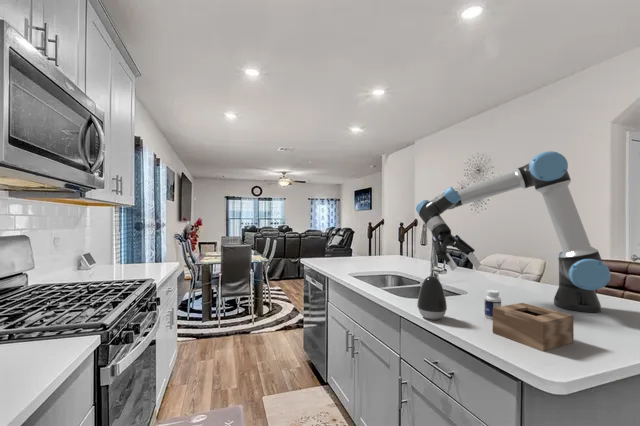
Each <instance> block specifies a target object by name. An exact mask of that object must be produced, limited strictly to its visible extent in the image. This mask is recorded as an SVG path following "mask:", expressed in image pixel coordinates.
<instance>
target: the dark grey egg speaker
mask: <svg viewBox="0 0 640 426" xmlns="http://www.w3.org/2000/svg"><path fill="white" fill-rule="evenodd" d="M416 304H417V305H416V306H417V309H418V312H419V314H420V315H421V316H422V317H423V318H425V319H427V320H430V321H431V320H433V321H437V320H441V319H442V318H444V316H445V314H446V311H447V309H448V307H447V306H448V305H447V297H446V295H445V290H444V287H443V286H442V282H441V281H440V280H439V278H438V277H435V276H433V275H430V276H429V275H428V276H427V277H426V278H425V279H424V280H423V282H422V283H421V286H420V290H419V292H418V297H417V303H416Z"/></svg>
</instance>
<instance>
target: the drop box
mask: <svg viewBox="0 0 640 426" xmlns="http://www.w3.org/2000/svg"><path fill="white" fill-rule="evenodd" d="M492 334H495V335H497V336H500V337H503V338H505V339H508V340H511V341H513V342H517V343H519V344H522V345H525V346H526V347H527V346H528V347H530V348H533V349H536V350H538V351H541V352H546V351H549V350H552V349H556V348H559V347H564V346H567V345H570V344H573V343H574V338H575V337H574V335H575V334H574V315H573V314H569V313H565V312H562V311H556V310H554V309H553V310H552V309H549V308H545V307H540V306H537V305H532V304H529V303H525V302H519V303H513V304H508V305H507V304H506V305H501V306H500V307H494V308H493V319H492Z"/></svg>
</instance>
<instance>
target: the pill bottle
mask: <svg viewBox="0 0 640 426" xmlns="http://www.w3.org/2000/svg"><path fill="white" fill-rule="evenodd" d="M500 306H502V298H501V297H500V291H499V290H496V289H488V290H486V296H484V316H485V318H487V319H490V320H493V308H494V307H500Z"/></svg>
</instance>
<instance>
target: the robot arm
mask: <svg viewBox="0 0 640 426" xmlns="http://www.w3.org/2000/svg"><path fill="white" fill-rule="evenodd" d="M568 164H569V163H568V160H567V158H566V157H565V156H564V155H563V154H561V153H560V152H557V151H551V150H550V151H544V152H543V151H542V152H541V153H538V154H536V155H534V157H533V158H532V159H531V160H530V162H529V163H526V164H524V165H522V166H520V167H517V168H516V169H515V171H512V172H510V173H506V174H503V175H500V176H496V177H495V178H492V179H491V178H490V179H488V180H486V181H482V182H479V183H476V184H474V185H471V186H467V187H465V188H460V189H458V190H456V189H455V188H454V187H452V186H450V187H447V188H446V189H444V190H443V191H442V192H440V193H439V194H438V195H437V196H436V197H434V198H433V199H432V200H428V199H425V200H422V201H420V202H419V203H417V204H416V207H415V211H416V212H417V214H418V216H419V217H420V219H421V220H422V221H423V223H424V224H425V226H426V227H427V228H428V230H429V231H430V233H431V235H432V236H433V237H432V239H431V240H432V242H433V245H434V250H435V256H437V257H439V258H440V259H443V260H444V261H445V263H446V264H447V265H448V266H449V268H450V269H451V271H454V270H455V269H457V268H458V265H457V263H456V262H455V261H454V259H453V258H452V256H451V255H450V253H449V252H447V249H448V248H447V247H452V248H456V249H457V250H458V251H460V252H462V253H463V254H464V255H466V257H467V258H468V260H469V261H470V263H471V264H472V266H473V267H474V268H475V269H478V268H480V267H481V266H482V263H481V262H480V261H479V260H478V258H477V257H476V255H475V254H474V252H475V249H474V247H472V246H471V245H469V244H468V243H467V242H466V241H465V240H463V239H462V238H461V237H460V236H459V235H458V234H456V235H455V236H454V235H452V229H451V228H450V227H449V225H448V224H447V223H446V221H445V220H444V218H443V217H442V216H441V214H443V213H444V212H446V211H447V210H453V209H456V208H458V207H462V206H464V205H468V204H470V203H474V202H477V201H481V200H483V199H487V198H490V197H494V196H497V195H501V194H503V193H506V192H510V191H513V190H516V189H520V188H522V189H527V188H531V187H534V189H535V191H536V192H538V193H540V194H542V197H543V198H542V199H543V200H544V204H545V205H546V208H547V211H548V214H549V217H550V219H551V222H552V225H553V227H554V230H555V232H556V236H557V239H558V241H559V243H560V247H561V249H562V251H560V252H559V253H558V258H557V259H558V288H557V290H556V293H555V294H554V298H553V305H554V306H556V307H558V308H561V309H565V310H570V311H575V312H580V313H581V312H584V313H599V312H601V311H602V304H601V302H600V300H599V297H598V295H597V292H596V290H600V289H603V288H604V287H606V286H607V284H608V283H610V280H611V278H612V277H611V272H610V269H609V267H608V266H607V265H606V264H605V263H604V261H603V259H602V256H601V254H600V252H599V250H598V249H596V248H595V247H593V246H591V242H590V240H589V238H588V235H587V232H586V230H585V228H584V224H583V222H582V220H581V217H580V214H579V211H578V209H577V207H576V204H575V201H574V199H573V196H572V193H571V191H570V188H569V185H570V183H571V182H572V179H571V177H570V174H569V172H568V169H569V165H568Z"/></svg>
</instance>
